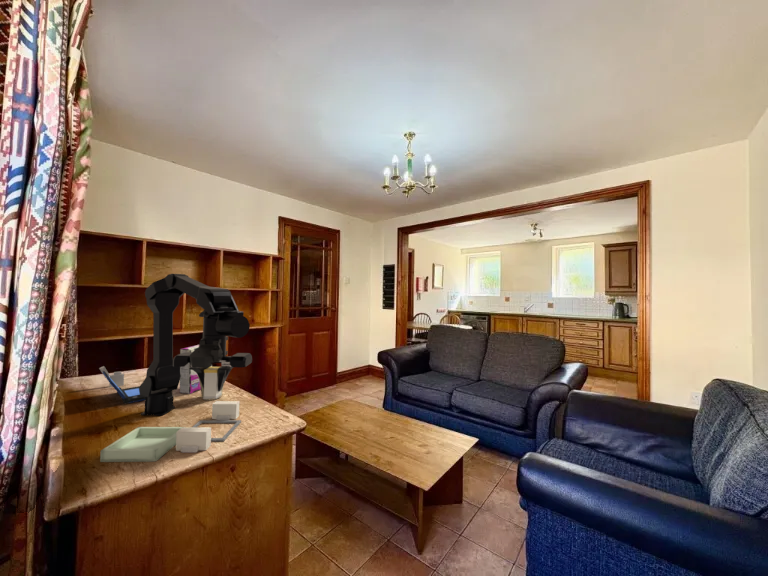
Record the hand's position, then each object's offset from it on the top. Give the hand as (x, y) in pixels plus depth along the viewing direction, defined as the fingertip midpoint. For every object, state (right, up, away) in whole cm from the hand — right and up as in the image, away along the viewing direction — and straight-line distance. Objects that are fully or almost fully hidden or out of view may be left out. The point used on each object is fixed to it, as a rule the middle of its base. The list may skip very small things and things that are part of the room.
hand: (212, 390), depth 85 cm
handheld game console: (-42, -10, +23) cm, 49 cm away
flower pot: (-14, -11, +25) cm, 31 cm away
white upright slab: (-57, -10, +33) cm, 67 cm away
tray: (-11, -11, -10) cm, 18 cm away
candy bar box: (-25, -11, +33) cm, 43 cm away
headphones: (0, -11, 0) cm, 11 cm away
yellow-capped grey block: (0, -2, 0) cm, 2 cm away
